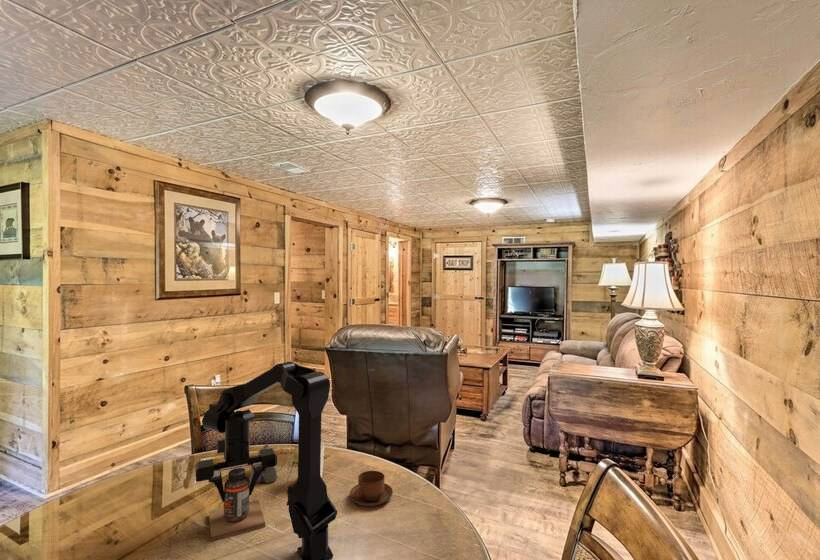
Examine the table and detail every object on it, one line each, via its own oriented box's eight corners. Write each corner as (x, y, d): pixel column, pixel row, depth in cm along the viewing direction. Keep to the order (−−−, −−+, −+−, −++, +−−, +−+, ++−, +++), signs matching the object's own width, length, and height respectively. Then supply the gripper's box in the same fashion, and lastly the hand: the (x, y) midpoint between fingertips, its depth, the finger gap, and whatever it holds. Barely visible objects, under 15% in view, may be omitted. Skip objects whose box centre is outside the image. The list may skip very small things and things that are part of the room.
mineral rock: (263, 464, 135) (263, 433, 135) (293, 466, 133) (293, 436, 133) (240, 482, 122) (240, 449, 122) (273, 485, 120) (273, 451, 120)
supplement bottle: (218, 518, 101) (218, 473, 101) (238, 507, 106) (238, 463, 106) (234, 525, 98) (235, 478, 98) (254, 513, 103) (254, 468, 103)
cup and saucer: (382, 514, 106) (382, 490, 106) (341, 505, 110) (342, 483, 110) (398, 492, 117) (398, 470, 117) (361, 485, 121) (361, 464, 121)
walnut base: (265, 526, 100) (265, 522, 100) (211, 541, 94) (211, 536, 94) (258, 503, 110) (258, 499, 110) (209, 515, 104) (209, 511, 104)
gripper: (270, 420, 114) (270, 476, 114) (195, 432, 105) (194, 492, 105) (277, 433, 104) (277, 494, 104) (195, 447, 95) (195, 513, 95)
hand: (237, 497), depth 102 cm, fingers closed on supplement bottle, 6 cm apart
